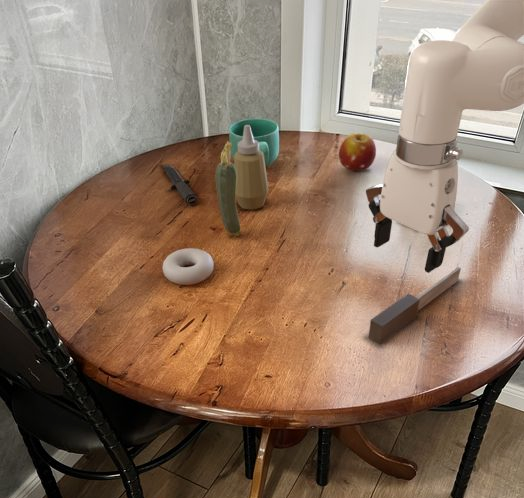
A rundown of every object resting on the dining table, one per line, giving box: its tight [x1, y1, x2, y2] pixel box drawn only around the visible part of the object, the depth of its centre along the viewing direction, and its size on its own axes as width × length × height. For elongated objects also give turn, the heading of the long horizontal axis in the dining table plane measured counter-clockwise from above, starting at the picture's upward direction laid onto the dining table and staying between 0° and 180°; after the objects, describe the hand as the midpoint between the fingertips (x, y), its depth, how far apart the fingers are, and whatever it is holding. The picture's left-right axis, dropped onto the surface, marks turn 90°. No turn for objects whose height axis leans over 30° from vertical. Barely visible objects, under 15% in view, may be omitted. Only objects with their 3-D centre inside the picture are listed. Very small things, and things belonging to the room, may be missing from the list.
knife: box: [163, 165, 198, 206], centre depth 134 cm, size 24×5×3 cm, turn 17°
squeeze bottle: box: [233, 125, 269, 211], centre depth 119 cm, size 8×8×18 cm
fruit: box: [338, 132, 377, 172], centre depth 135 cm, size 10×9×8 cm
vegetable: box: [214, 140, 242, 237], centre depth 109 cm, size 4×4×20 cm
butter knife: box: [368, 266, 462, 346], centre depth 94 cm, size 2×24×4 cm, turn 132°
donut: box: [161, 247, 215, 286], centre depth 105 cm, size 10×4×10 cm
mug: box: [228, 118, 280, 167], centre depth 137 cm, size 17×13×10 cm
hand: (406, 255), depth 84 cm, fingers open, 9 cm apart
